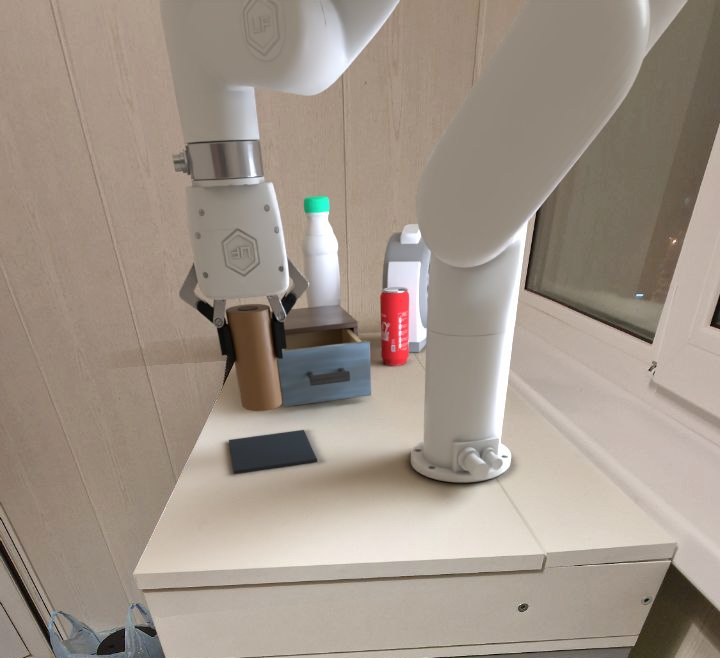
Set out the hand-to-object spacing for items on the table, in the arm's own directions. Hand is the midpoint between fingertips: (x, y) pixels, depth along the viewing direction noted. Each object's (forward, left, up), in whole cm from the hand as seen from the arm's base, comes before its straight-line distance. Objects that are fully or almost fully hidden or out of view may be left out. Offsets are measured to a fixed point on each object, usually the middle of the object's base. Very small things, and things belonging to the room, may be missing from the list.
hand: (255, 356), depth 69 cm
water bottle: (+52, -18, -12) cm, 56 cm away
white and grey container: (+46, -35, -12) cm, 59 cm away
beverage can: (+35, -28, -12) cm, 47 cm away
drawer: (+20, -11, -11) cm, 26 cm away
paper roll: (0, 0, -6) cm, 6 cm away
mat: (0, 0, -12) cm, 12 cm away
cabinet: (+33, -11, -12) cm, 37 cm away
